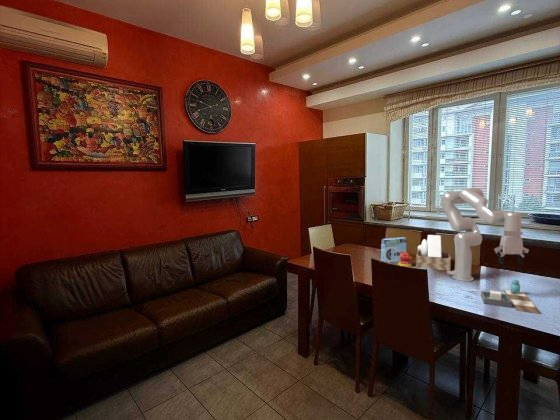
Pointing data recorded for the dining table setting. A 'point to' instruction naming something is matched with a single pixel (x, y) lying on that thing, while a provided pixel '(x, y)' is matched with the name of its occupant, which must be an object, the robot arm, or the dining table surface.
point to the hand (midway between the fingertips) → (510, 263)
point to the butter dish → (431, 246)
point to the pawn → (515, 287)
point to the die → (495, 295)
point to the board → (522, 302)
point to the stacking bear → (405, 260)
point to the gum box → (392, 249)
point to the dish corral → (434, 261)
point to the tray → (503, 302)
